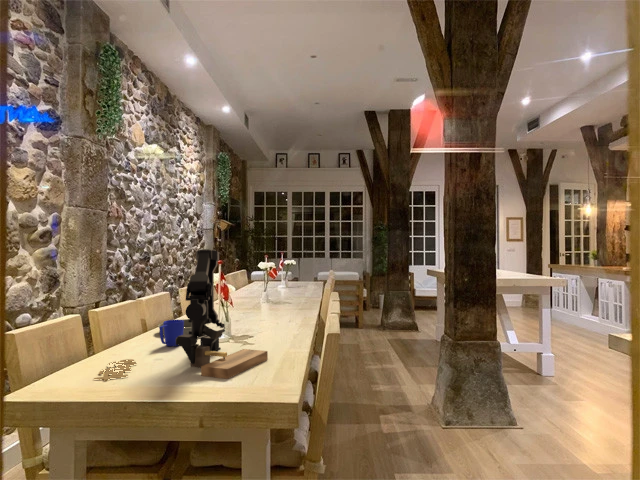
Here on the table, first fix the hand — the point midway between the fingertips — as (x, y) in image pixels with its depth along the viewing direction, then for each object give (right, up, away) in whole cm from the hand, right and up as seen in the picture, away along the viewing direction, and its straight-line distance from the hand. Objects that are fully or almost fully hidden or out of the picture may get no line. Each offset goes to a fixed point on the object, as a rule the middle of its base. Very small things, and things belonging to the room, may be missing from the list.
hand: (200, 360), depth 159 cm
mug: (-20, -2, +31) cm, 37 cm away
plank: (+13, -1, -3) cm, 13 cm away
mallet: (+4, -2, -2) cm, 4 cm away
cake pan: (-24, -3, +62) cm, 67 cm away
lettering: (-27, -3, -4) cm, 27 cm away
